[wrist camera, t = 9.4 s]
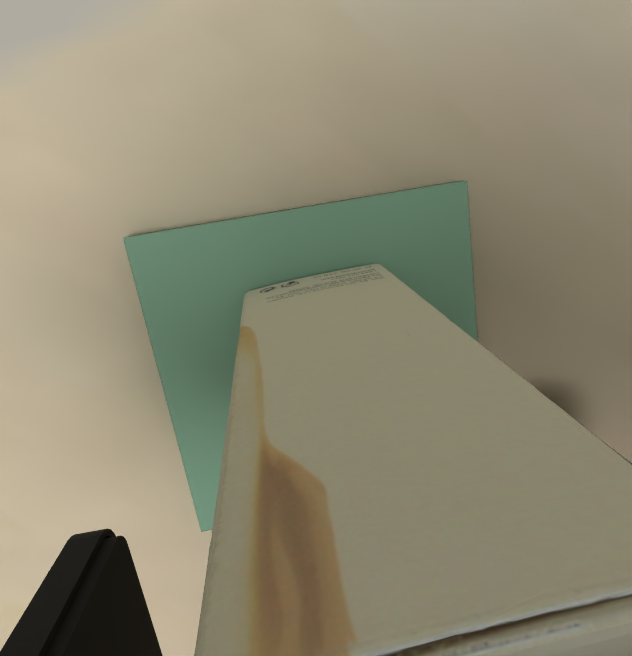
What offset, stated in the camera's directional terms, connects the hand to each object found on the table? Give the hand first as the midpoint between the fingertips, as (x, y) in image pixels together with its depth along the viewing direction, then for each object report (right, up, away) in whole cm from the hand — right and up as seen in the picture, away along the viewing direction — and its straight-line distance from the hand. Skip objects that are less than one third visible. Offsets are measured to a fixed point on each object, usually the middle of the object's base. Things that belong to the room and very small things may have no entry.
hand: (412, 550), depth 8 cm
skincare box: (-1, +2, +8) cm, 8 cm away
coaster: (-1, +3, +8) cm, 9 cm away
